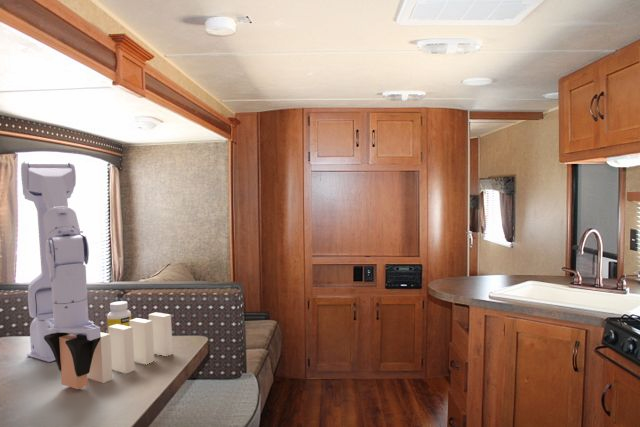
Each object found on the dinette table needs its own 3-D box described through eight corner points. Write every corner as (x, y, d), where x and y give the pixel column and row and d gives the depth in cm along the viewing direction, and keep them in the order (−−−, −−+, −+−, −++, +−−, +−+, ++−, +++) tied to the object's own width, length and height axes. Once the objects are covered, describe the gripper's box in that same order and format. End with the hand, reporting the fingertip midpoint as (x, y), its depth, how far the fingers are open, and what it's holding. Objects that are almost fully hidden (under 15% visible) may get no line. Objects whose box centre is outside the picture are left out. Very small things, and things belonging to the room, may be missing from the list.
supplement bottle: (123, 346, 107) (121, 305, 106) (103, 345, 108) (101, 305, 108) (136, 339, 112) (135, 300, 112) (117, 338, 113) (115, 299, 113)
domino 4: (165, 357, 99) (163, 317, 99) (150, 353, 102) (148, 314, 101) (172, 354, 101) (170, 314, 100) (157, 350, 103) (155, 312, 103)
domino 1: (103, 383, 86) (100, 337, 86) (87, 378, 89) (85, 333, 88) (112, 379, 88) (110, 334, 87) (97, 374, 90) (94, 330, 90)
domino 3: (146, 364, 95) (144, 323, 94) (131, 361, 97) (129, 320, 97) (154, 361, 96) (152, 320, 96) (139, 357, 99) (137, 317, 99)
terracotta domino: (77, 389, 82) (74, 340, 81) (61, 384, 84) (59, 337, 84) (87, 385, 83) (85, 337, 83) (72, 380, 86) (69, 334, 86)
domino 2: (125, 373, 90) (123, 329, 90) (110, 369, 93) (108, 326, 93) (134, 370, 92) (132, 327, 92) (119, 365, 95) (116, 323, 94)
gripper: (26, 301, 83) (30, 372, 84) (71, 309, 76) (76, 387, 77) (64, 293, 89) (68, 359, 90) (109, 300, 82) (113, 372, 83)
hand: (74, 371), depth 84 cm, fingers closed on terracotta domino, 5 cm apart
